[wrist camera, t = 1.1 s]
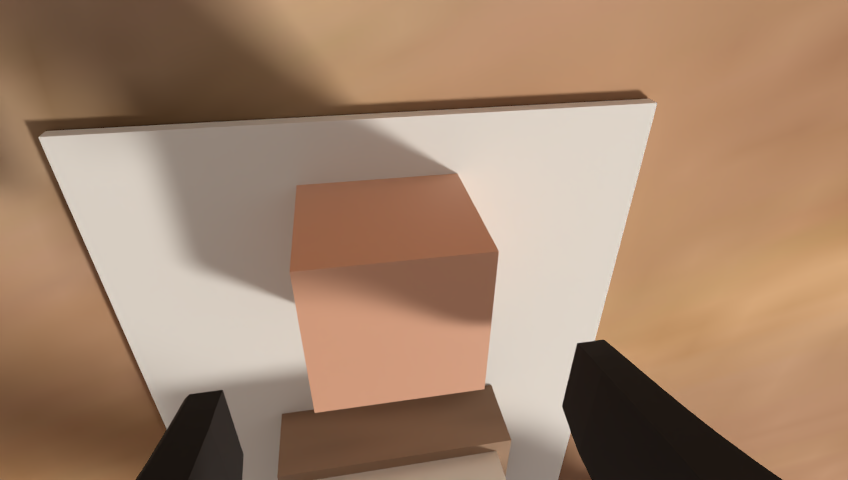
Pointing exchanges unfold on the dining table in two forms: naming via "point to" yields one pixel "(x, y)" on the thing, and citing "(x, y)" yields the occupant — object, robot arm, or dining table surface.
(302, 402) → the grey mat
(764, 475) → the robot arm
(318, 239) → the terracotta block
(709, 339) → the dining table surface
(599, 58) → the dining table surface
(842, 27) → the dining table surface
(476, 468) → the cream block
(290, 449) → the walnut base block
